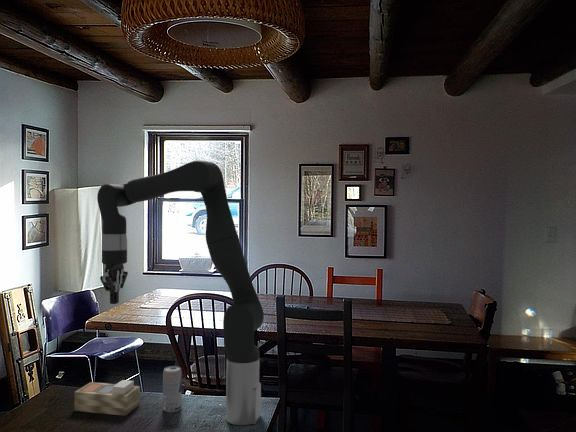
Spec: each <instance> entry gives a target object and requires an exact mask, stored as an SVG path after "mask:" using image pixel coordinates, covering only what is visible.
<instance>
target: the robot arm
mask: <svg viewBox="0 0 576 432" xmlns="http://www.w3.org/2000/svg"><path fill="white" fill-rule="evenodd" d="M177 192H195V193H200V194H201V197H202V199H203V202H204V206H205V210H206V211H205V212H206V225H205V241H206V246H207V250H208V252H209V256H210V259H211V261H212V263H213V265H214V267H215V268H216V270H217V271H218V273H219V274H220V276H221V277H222V279H223V280H224V281H225V283H226V284H227V287H228V290H229V291H230V295H231V298H232V302H233V304H232V305H230V306H228V307H227V308H226V310H225V312H224V314H223V320H222V323H223V324H222V326H223V327H222V329H223V347H224V350H225V354H226V372H225V373H226V377H225V378H226V380H225V383H226V384H225V385H226V387H225V388H226V389H225V390H226V391H225V392H226V393H225V398H226V399H225V407H226V408H225V420H226V422H227V423H229V424H232V425H235V426H249V425H257V423H258V421H259V419H260V418H261V416H262V413H261V411H262V409H261V407H262V382H260V348H259V347H258V346H257V345H255V331H256V330H258V329H259V328H261V326H262V325H263V322H264V318H265V316H264V315H265V314H264V309H263V307H262V304H261V302H260V299H259V297H258V295H257V292H256V290H255V287H254V285H253V282H252V278H251V276H250V273H249V268H248V266H247V263H246V262H247V261H246V259H245V255H244V252H243V247H242V244H241V241H240V237H239V235H238V232H237V229H236V226H235V223H234V218H233V216H232V211H231V209H230V205H229V200H228V197H227V190H226V186H225V180H224V176H223V172H222V170H221V168H220V167H219V165H217V164H216V163H214V162H212V161H207V160H200V159H197V160H192V161H189V162H187V163H186V164H183V165H180V166H178V167H176V168H174V169H171V170H168V171H165V172H162V173H158V174H152V175H148V176H145V177H144V176H143V177H138V178H135V179H131V180H130V181H127V182H126V183H121V184H116V183H105V184H103V185H102V186H100V188H99V189H98V191H97V197H96V199H97V200H96V201H97V204H98V209H99V213H100V217H101V219H102V220H101V221H102V237H101V264H102V265H105V269H104V275H101V276H100V277H99V280H100V283H101V284H102V285H103V288H104V290H105V292H109V304H110V305H116V304H119V302H120V300H119V299H120V297H119V296H120V291H121V289H123V288H124V285H125V282H126V281H127V277H128V274H129V272H128V271H125V270H124V269H125V267H124V265H125V264H127V263H128V237H127V218H126V216H124V215H123V214H121V213H120V212H119V208H120V207H122V208H123V207H126V206H131V205H134V204H136V203H142V202H145V201H152V200H155V199H158V198H162V197H163V196H165V195H167V194H171V193H177Z"/></svg>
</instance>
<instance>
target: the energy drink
mask: <svg viewBox="0 0 576 432" xmlns="http://www.w3.org/2000/svg"><path fill="white" fill-rule="evenodd" d="M182 373H183V371H182V368H181V367H180V366H177V365H171V366H166V367H164V369H163V371H162V410H163V411H164V412H165V413H177V412H179V411H181V409H182V407H183V406H182V399H183V398H182V392H183V391H182V384H183V383H182V382H183V379H182V377H183V375H182Z"/></svg>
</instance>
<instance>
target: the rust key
mask: <svg viewBox="0 0 576 432" xmlns="http://www.w3.org/2000/svg"><path fill="white" fill-rule="evenodd" d="M101 386H103V385H99V384H91V385H90V386H88V387H86V388H85V389H83V390H82V391H85V392H94V391H95V390H97V389H98V388H100V387H101Z"/></svg>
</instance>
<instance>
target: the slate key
mask: <svg viewBox="0 0 576 432" xmlns="http://www.w3.org/2000/svg"><path fill="white" fill-rule="evenodd" d="M112 391H113V386H110V385H107V386H105V387H104V388H102V389H101V390H99V391H98V392H97V393H107V394H109V393H110V392H112Z"/></svg>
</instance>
